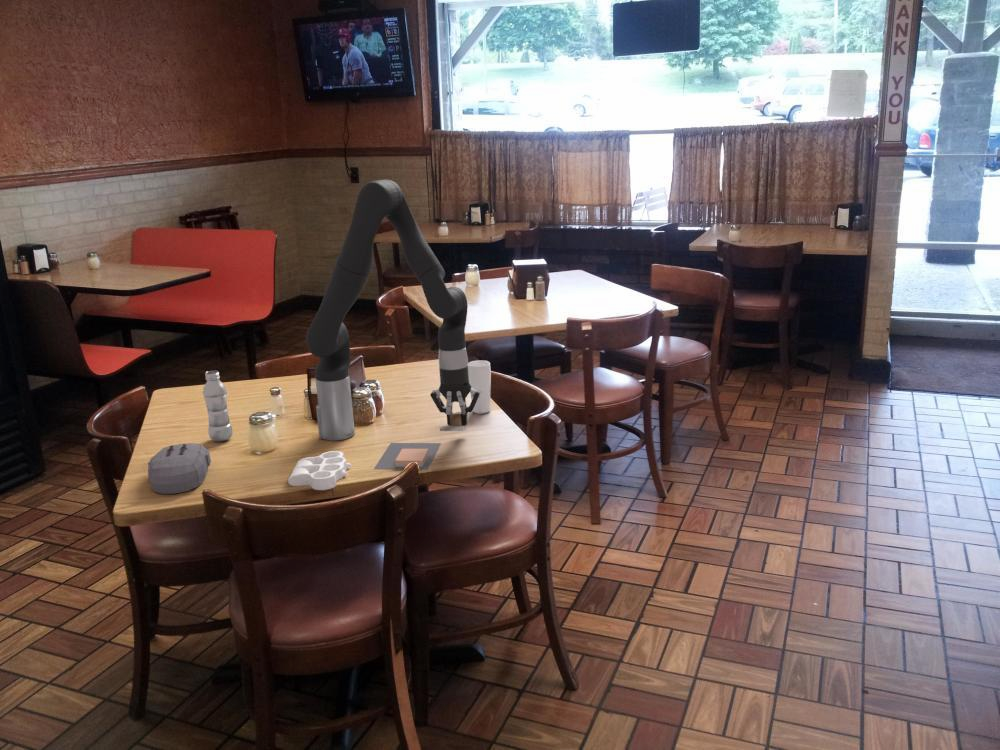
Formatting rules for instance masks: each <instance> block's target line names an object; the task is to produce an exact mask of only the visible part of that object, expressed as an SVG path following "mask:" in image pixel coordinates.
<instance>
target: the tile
mask: <svg viewBox="0 0 1000 750" xmlns="http://www.w3.org/2000/svg"><path fill="white" fill-rule="evenodd" d="M428 457H429V449H402V450H401V452H400V453H399V455H398V457H397V458H396V460H395V464H396V468H405V467H406V466H407V465H408V464H409V463H411V462H417V463H418V465H419V468H423V467H424V465H425V463H426V461H427V459H428Z"/></svg>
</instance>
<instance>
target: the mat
mask: <svg viewBox="0 0 1000 750" xmlns="http://www.w3.org/2000/svg"><path fill="white" fill-rule="evenodd" d="M441 444H442V442H390V443H389V445H388V446H387V447H386V449H385V451H384V452H383V454H382V455H381V457H380V459H379V460H378V461H377V463H376V465H375V466H374V468H373V470H405V469H404V468H396V464H395V460H396V458H397V457H398V455H399V453H400V452H401V450H402V449H429V457H428V459H427V461H426V463H425V465H424V467H423V468H420V470H419V471H421V470H424V471H425V470H427V471H428V470H429V468H430V466H431V464H432V462H433V461H434V458H435V456H436V454H437V452H438V450H439V448H440V447H441Z"/></svg>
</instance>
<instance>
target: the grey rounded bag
mask: <svg viewBox="0 0 1000 750" xmlns="http://www.w3.org/2000/svg"><path fill="white" fill-rule="evenodd" d="M211 463H212V460H211V455H210V450H208V449H207V448H205V447H204V446H203V445H202V444H201V443H195V442H189V443H178V444H172V445H169V446H165V447H163V448H162V449H160V450H159V451H158V452H156V454H154V455H153V456H152V457H151V458H150V459H149V461H148V462H147V464H148V469H147V478H148V480H149V484H150V486H151V488H152V491H153V492H155V493H159V494H162V495H165V494H166V495H169V494H170V495H171V494H173V495H174V494H178V493H179V494H180V493H183V492H188V491H191V490H193V489H195V488H198V487H199V486H200V485H201V483H202V482H203V481H204V479H205V478H206V476H207V473H208V470H209V466H211Z"/></svg>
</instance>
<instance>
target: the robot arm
mask: <svg viewBox="0 0 1000 750" xmlns="http://www.w3.org/2000/svg"><path fill="white" fill-rule="evenodd" d="M384 218H386V219H387V221H388V222H389V223H390V224H391V226H393V228H394V230H395V232H396V233H397V236H398V238H399V241H400V244H401V247H402V250H403V255H404V258H405V260H406V262H407V264H408V267H409V268H410V269H411V271H412V273H413V274H414V276H415V277H416V279H417V280H418V282H419V283H420V285H421V288H422V291H423V293H424V296H425V297H424V298H425V299H426V302H427V304H428V306H429V308H430V310H431V312H432V313H433V314H434V315H435V316H437V317H438V318H440V319H442V323H441V325H440V326H439V328H438V331H437V339H438V340H437V342H438V366H439V367H438V368H439V370H438V371H439V383H440V385H439V387H438V389H436V390H432V391H431V392H430V395H429V396H430V397H431V399H432V401H433V403H434V404H435V406H436V408H437V409H438V411H439V412H440V413H444V414H445V416H446V423H447V426H450V414H453V413H454V412H453V404H454V402H456V403H458V405H459V408H460V412H461V423H462V426H466V425H467V422H468V421H469V420H468V421H467V417H468V413H472V412H473V408H474V406H475V404H476V402H477V399H478V397H479V395H480V393H481V392H480V390H475V389H472V388H471V385H470V384H469V374H468V363H469V358H468V353H467V346H466V343H467V342H466V332H465V330H466V324H467V319H468V318H467V317H468V306H469V305H468V299H467V296H466V293H465V292H464V291H463V289H462V288H460V287H458V286H450V287H447V285H446V283H445V281H444V279H445V276H446V272H445V269H444V266H442V264H441V262H440V261H439V259H438V258H437V256H436V255H435V253H434V251H433V250H432V249H431V247H430V246H429V244H428V242H427V240H426V239H425V236H424V235H423V233H422V231H421V229H420V227H419V225H418V223H417V221H416V218H415V216H414V215H413V213H412V210H411V208H410V206H409V203H408V201H407V199H406V197H405V195H404V192H403V190H402V189H401V187H400V185H399V184H398V183H397V182H395V181H393V180H391V179H386V178H385V179H378V180H371V181H368V182H366V184H363V186H362V187H361V189H359V193H358V195H357V199H356V202H355V206H354V209H353V215H352V218H351V221H350V225H349V229H348V231H347V233H346V235H345V238H344V240H343V244H342V246H341V248H340V251H339V254H338V257H337V259H336V261H335V264H334V267H333V269H332V272H331V276H330V278H329V281H328V284H327V286H326V289H325V292H324V294H323V295H324V296H323V298H322V300H321V303H320V305H319V308H318V311H317V312H316V313H315V316H314V318H313V320H312V321H311V323H310V326H309V328H308V330H307V331H306V336H305V343H306V346H307V349H308V351H309V353H310V354H311V355H312V356H314V357H318V358H319V361H318V363H317V365H316V367H315V369H314V375H315V376H314V377H315V378H314V379H315V385H316V386H315V387H316V394H317V396H316V397H317V405H316V406H315V409H316V418H317V428H318V435H319V439H324V440H327V441H340V440H341V441H342V440H346V439H349V438H351V437H353V436H355V433H356V431H355V423H354V411H353V400H352V393H351V383H350V382H351V380H350V372H349V371H350V367H351V345H350V335H349V330H348V329H347V327H346V325H345V324H344V322H343V321H344V319H345V317H346V315H347V313H348V312H349V310H350V309H351V308H352V307H353V305H354V304H355V303H356V301H357V300H358V298H359V297H360V295H361V294H362V292H363V290H364V289H365V286H366V285H367V282H368V279H369V276H370V275H371V272H372V269H373V264H374V242H375V238H376V235H377V232H378V231H379V228H380V226H381V223H382V222H383V220H384ZM469 394H470V398H471V397H472V398H473V399H472V400H471V402H470V404H469V406H467V401H466V398H467V397H468V395H469ZM441 396H443V397H444V399H445V400H446V403H445V404H446V405H445V404H444V402H443V401H442V398H441Z"/></svg>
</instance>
